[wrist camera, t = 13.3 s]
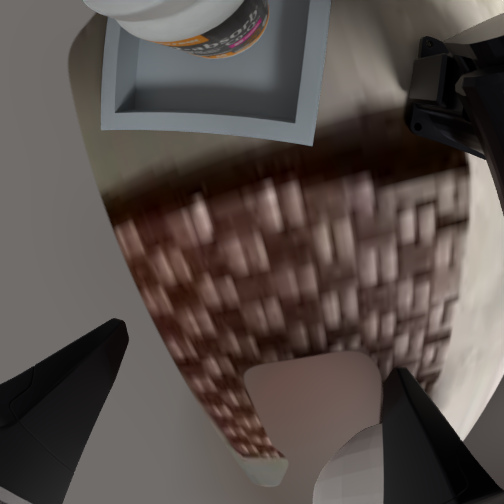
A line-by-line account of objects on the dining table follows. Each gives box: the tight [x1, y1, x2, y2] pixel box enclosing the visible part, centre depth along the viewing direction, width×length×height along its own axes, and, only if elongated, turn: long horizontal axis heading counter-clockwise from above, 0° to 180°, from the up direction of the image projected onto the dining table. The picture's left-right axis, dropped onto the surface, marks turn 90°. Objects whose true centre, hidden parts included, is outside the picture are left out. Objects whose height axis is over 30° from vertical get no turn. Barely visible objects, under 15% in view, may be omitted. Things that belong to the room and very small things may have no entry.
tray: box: [101, 0, 331, 146], centre depth 12 cm, size 12×14×3 cm
